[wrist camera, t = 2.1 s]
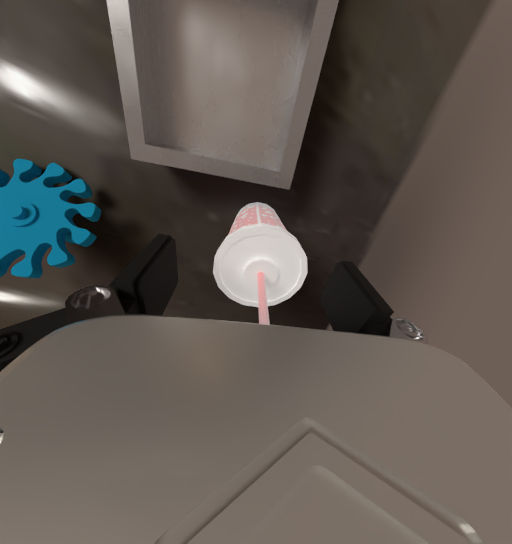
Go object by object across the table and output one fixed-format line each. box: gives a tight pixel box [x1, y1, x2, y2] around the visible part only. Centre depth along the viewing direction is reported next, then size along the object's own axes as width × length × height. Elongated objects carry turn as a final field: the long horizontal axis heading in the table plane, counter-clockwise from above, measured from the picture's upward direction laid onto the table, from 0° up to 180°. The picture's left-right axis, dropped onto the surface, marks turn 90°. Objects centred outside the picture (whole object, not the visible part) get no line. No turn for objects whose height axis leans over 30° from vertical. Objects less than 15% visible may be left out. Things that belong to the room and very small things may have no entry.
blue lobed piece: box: [0, 159, 101, 278], centre depth 17 cm, size 11×6×10 cm
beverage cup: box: [213, 202, 307, 325], centre depth 14 cm, size 6×6×14 cm
